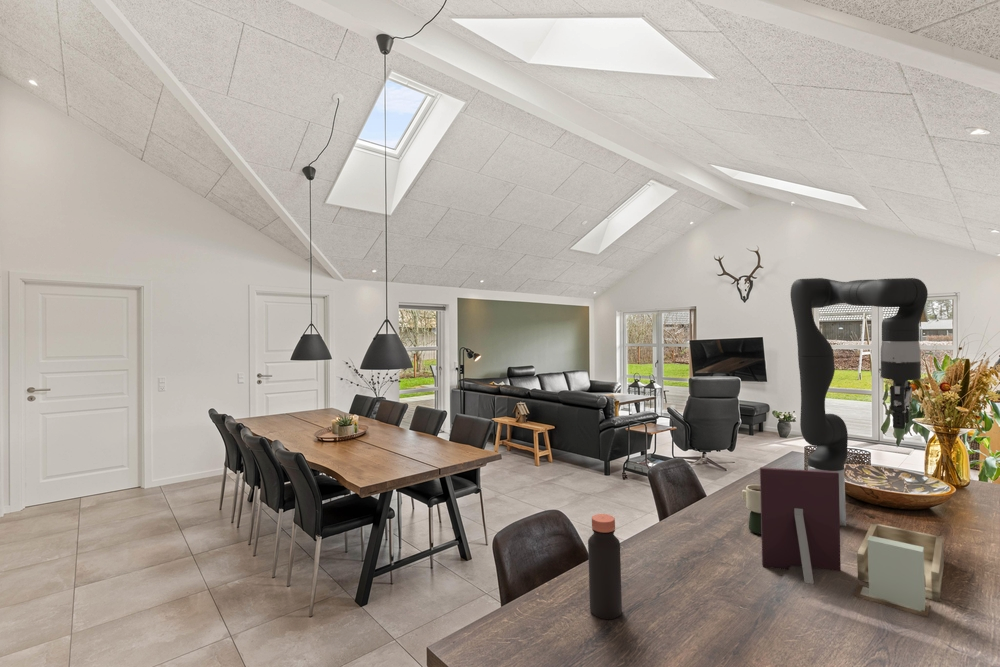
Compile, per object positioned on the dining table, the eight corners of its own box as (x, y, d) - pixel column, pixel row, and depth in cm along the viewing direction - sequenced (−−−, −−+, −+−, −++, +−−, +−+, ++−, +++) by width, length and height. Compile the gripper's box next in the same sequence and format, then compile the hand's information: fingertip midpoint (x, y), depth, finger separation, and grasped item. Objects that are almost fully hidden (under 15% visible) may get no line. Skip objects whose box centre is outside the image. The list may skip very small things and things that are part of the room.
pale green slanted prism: (869, 595, 103) (867, 539, 104) (871, 589, 106) (869, 535, 106) (924, 611, 97) (922, 552, 97) (925, 604, 99) (923, 547, 99)
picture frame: (839, 573, 116) (835, 470, 116) (854, 594, 107) (850, 482, 107) (762, 564, 121) (759, 466, 122) (770, 584, 112) (766, 477, 112)
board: (854, 601, 104) (853, 593, 104) (858, 590, 108) (858, 583, 108) (927, 623, 96) (927, 615, 96) (929, 610, 100) (929, 602, 100)
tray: (857, 584, 111) (857, 553, 111) (872, 549, 128) (871, 522, 128) (939, 607, 101) (938, 573, 101) (944, 566, 118) (943, 537, 118)
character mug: (786, 535, 138) (784, 490, 138) (771, 541, 134) (770, 495, 134) (750, 523, 147) (749, 481, 147) (735, 528, 144) (734, 485, 144)
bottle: (621, 622, 99) (618, 525, 99) (588, 617, 101) (585, 522, 101) (622, 604, 105) (619, 513, 105) (591, 600, 107) (588, 511, 107)
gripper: (884, 357, 125) (885, 419, 125) (876, 361, 115) (877, 428, 115) (923, 358, 120) (924, 422, 120) (917, 362, 109) (918, 432, 110)
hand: (901, 425), depth 117 cm, fingers open, 8 cm apart
